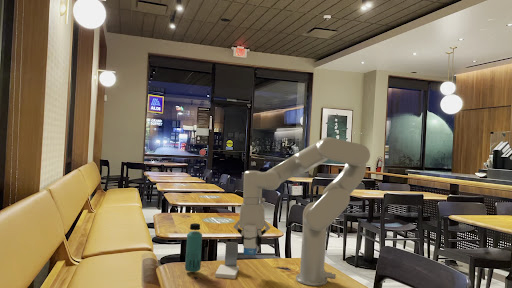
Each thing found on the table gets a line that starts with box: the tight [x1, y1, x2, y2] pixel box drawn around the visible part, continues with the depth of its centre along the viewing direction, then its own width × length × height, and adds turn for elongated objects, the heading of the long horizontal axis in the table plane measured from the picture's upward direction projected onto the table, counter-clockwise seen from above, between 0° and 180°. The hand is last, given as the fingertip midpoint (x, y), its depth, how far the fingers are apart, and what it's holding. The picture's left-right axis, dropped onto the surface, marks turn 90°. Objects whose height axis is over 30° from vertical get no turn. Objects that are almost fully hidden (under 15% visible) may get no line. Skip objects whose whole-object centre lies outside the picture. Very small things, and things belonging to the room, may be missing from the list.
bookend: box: [224, 241, 239, 267], centre depth 167 cm, size 5×1×10 cm, turn 85°
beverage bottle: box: [184, 223, 203, 273], centre depth 160 cm, size 6×7×20 cm
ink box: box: [243, 224, 260, 256], centre depth 160 cm, size 8×5×12 cm, turn 169°
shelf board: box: [214, 264, 240, 280], centre depth 162 cm, size 8×12×2 cm
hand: (251, 244), depth 160 cm, fingers closed on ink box, 5 cm apart
